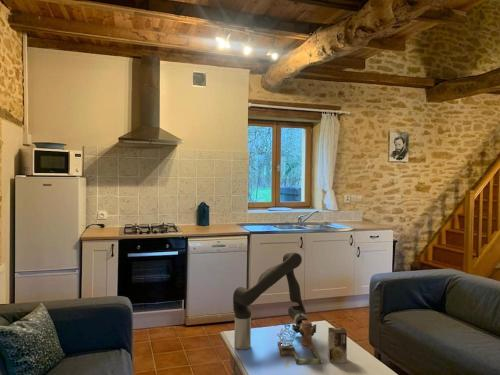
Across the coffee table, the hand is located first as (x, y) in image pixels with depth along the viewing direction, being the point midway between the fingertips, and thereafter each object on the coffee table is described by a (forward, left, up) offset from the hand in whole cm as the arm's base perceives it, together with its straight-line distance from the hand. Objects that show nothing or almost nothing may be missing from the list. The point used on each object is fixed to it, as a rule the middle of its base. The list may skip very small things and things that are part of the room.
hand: (307, 334), depth 195 cm
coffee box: (+16, 0, -14) cm, 21 cm away
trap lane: (-4, +8, -14) cm, 16 cm away
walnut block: (0, +3, -7) cm, 8 cm away
